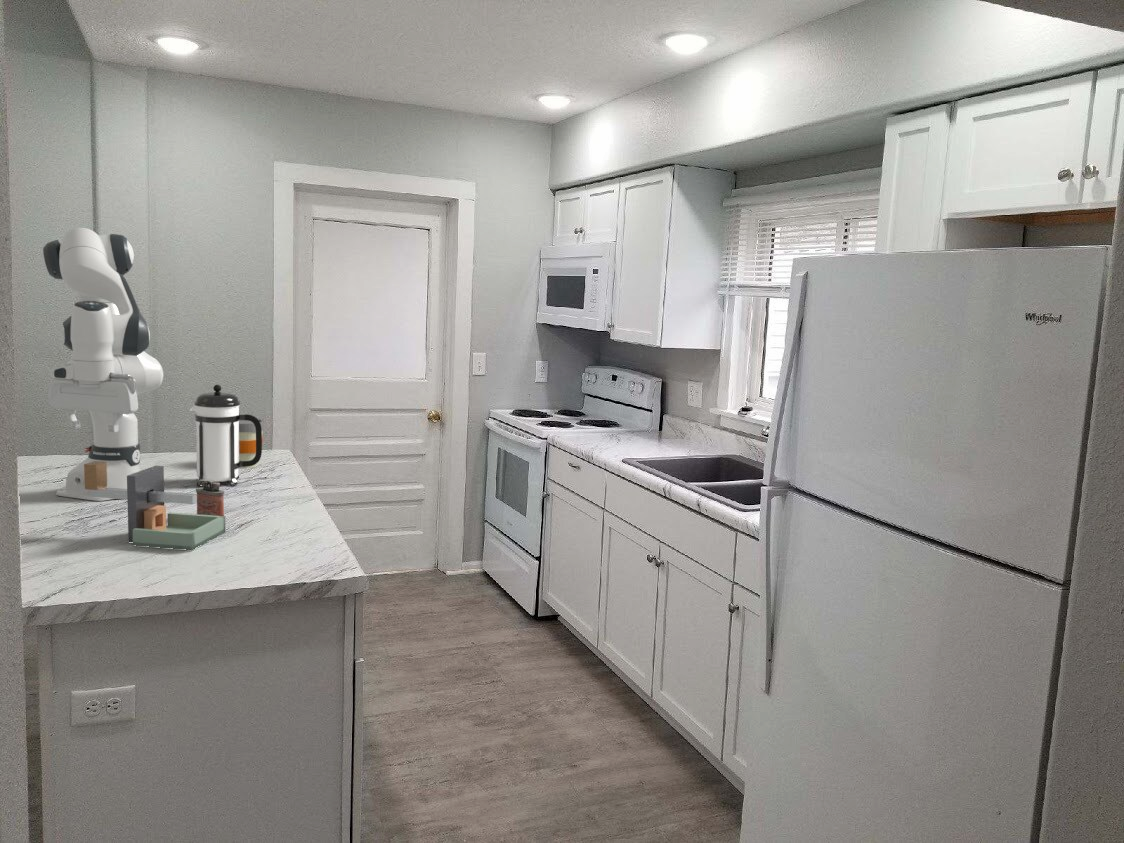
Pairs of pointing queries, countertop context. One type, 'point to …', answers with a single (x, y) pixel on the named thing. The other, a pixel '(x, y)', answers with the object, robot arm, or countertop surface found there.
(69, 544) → the countertop surface
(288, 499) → the countertop surface
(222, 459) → the coffee press
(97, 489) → the shaft
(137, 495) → the bearing plate
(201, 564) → the countertop surface
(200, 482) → the lighter
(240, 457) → the reusable coffee cup
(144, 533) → the tray
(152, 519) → the collar
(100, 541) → the countertop surface
